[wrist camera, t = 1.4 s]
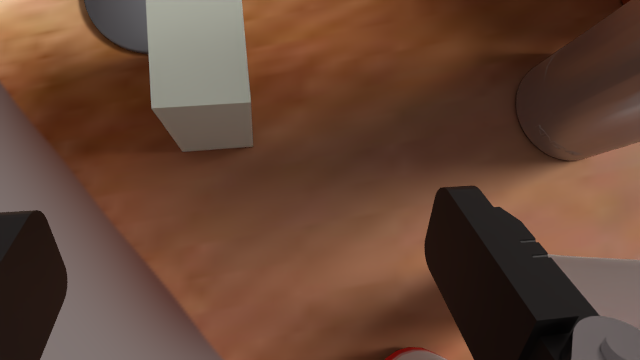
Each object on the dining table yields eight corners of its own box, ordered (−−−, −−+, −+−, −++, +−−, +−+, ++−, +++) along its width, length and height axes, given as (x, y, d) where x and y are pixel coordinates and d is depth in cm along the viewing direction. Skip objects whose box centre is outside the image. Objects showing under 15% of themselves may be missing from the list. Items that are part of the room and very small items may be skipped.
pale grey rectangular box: (176, 49, 35) (144, -31, 25) (244, 47, 36) (238, -32, 26) (182, 151, 34) (151, 108, 24) (253, 146, 35) (250, 102, 25)
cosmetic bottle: (542, 249, 36) (947, 234, 15) (544, 325, 35) (986, 428, 14) (473, 244, 36) (795, 222, 14) (473, 321, 35) (823, 424, 13)
